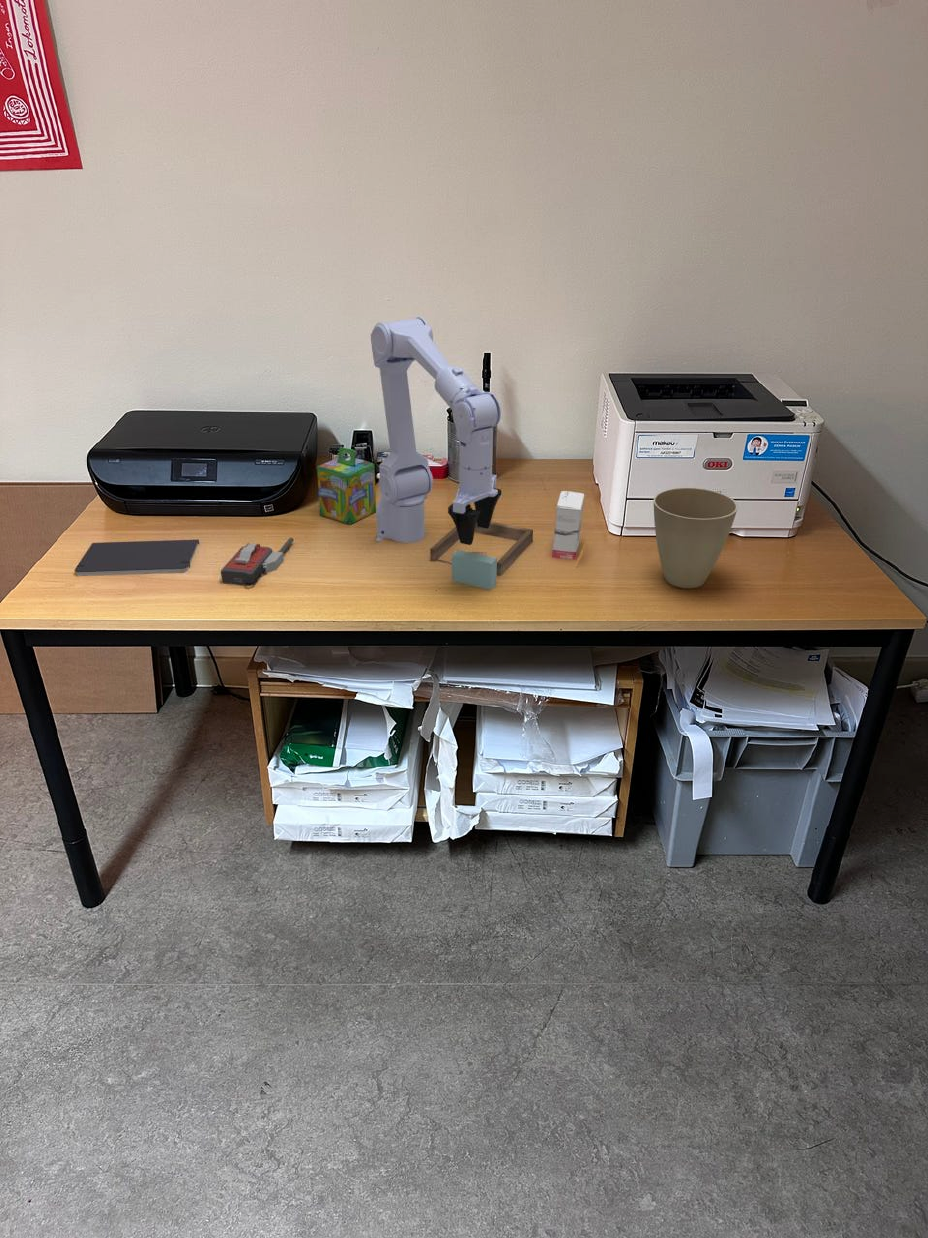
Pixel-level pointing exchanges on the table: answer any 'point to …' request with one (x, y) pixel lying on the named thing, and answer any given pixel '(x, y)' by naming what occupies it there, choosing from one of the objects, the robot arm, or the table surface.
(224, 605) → the table surface
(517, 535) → the rack
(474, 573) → the teal rectangular block
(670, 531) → the plant pot
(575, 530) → the ink box
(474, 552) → the offcut upper
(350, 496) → the chalk box
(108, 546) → the notebook
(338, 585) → the table surface
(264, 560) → the walkie-talkie
